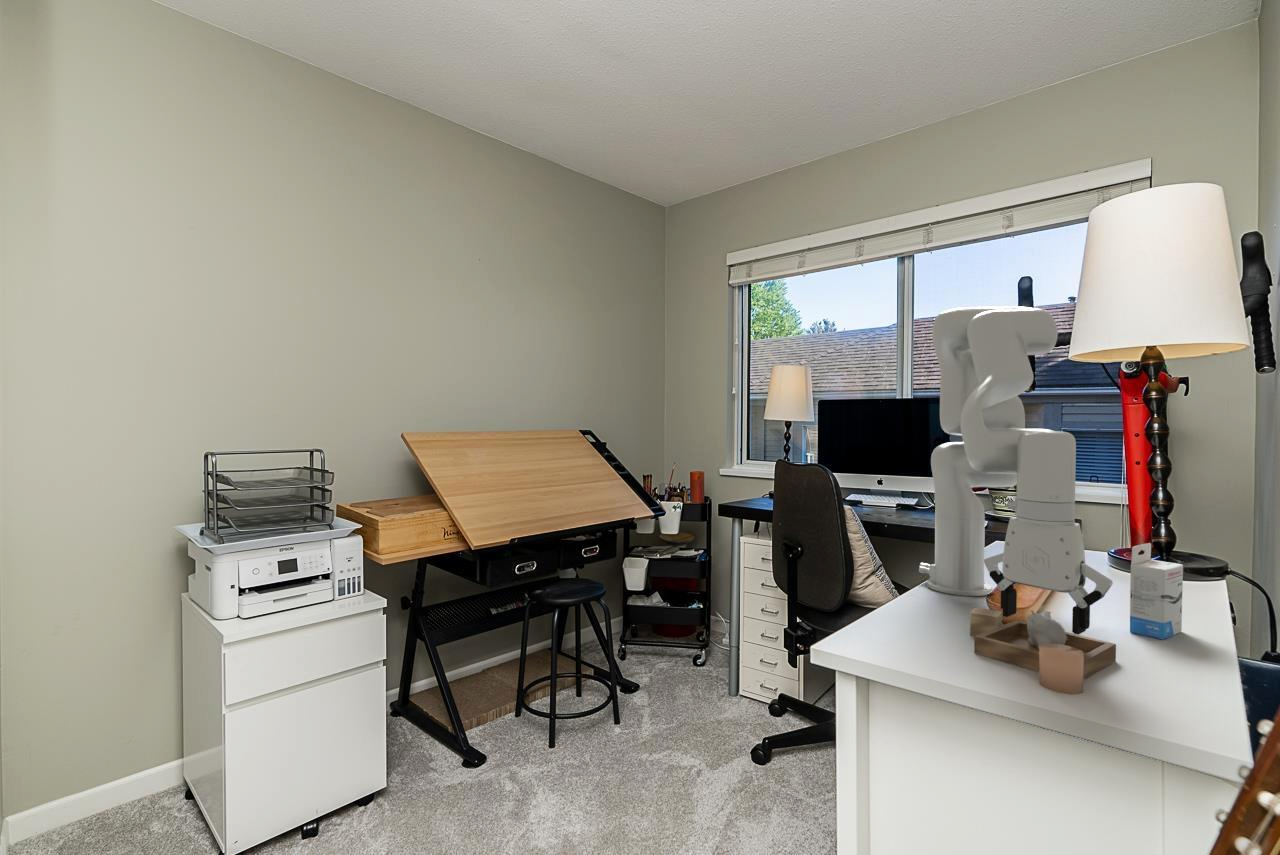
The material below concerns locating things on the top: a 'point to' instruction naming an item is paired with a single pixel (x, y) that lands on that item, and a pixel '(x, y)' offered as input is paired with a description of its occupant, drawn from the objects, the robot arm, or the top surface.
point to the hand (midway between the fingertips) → (1043, 623)
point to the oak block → (984, 620)
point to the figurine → (1044, 630)
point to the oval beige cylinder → (1061, 668)
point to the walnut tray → (1016, 650)
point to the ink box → (1155, 595)
